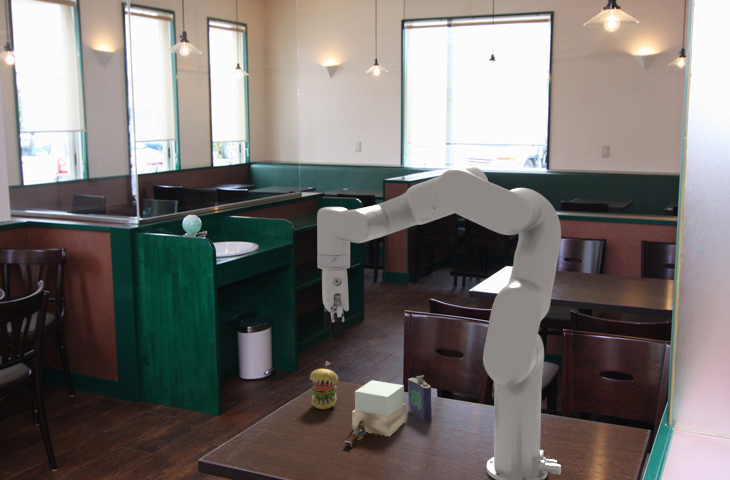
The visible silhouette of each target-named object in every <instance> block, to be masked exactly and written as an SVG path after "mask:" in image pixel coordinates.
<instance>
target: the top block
mask: <svg viewBox="0 0 730 480" xmlns="http://www.w3.org/2000/svg"><path fill="white" fill-rule="evenodd" d="M404 386H405V385H404V384H398V383H391V382H385V381H380V380H379V381H378V380H374V379H373V380H370V381H368V382H367V383H365V384H364V385H362V386H361V387H359V388H358V389H355V391H354V408H355V409H354V410H355V411H359V412H364V413H370V414H375V415H380V416H385V417H389V416H390V415H391V414H393V413H394V412H395V411H396V410H398V409H399V408H400V407H401V406H403V405H404V404H405V387H404Z"/></svg>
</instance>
